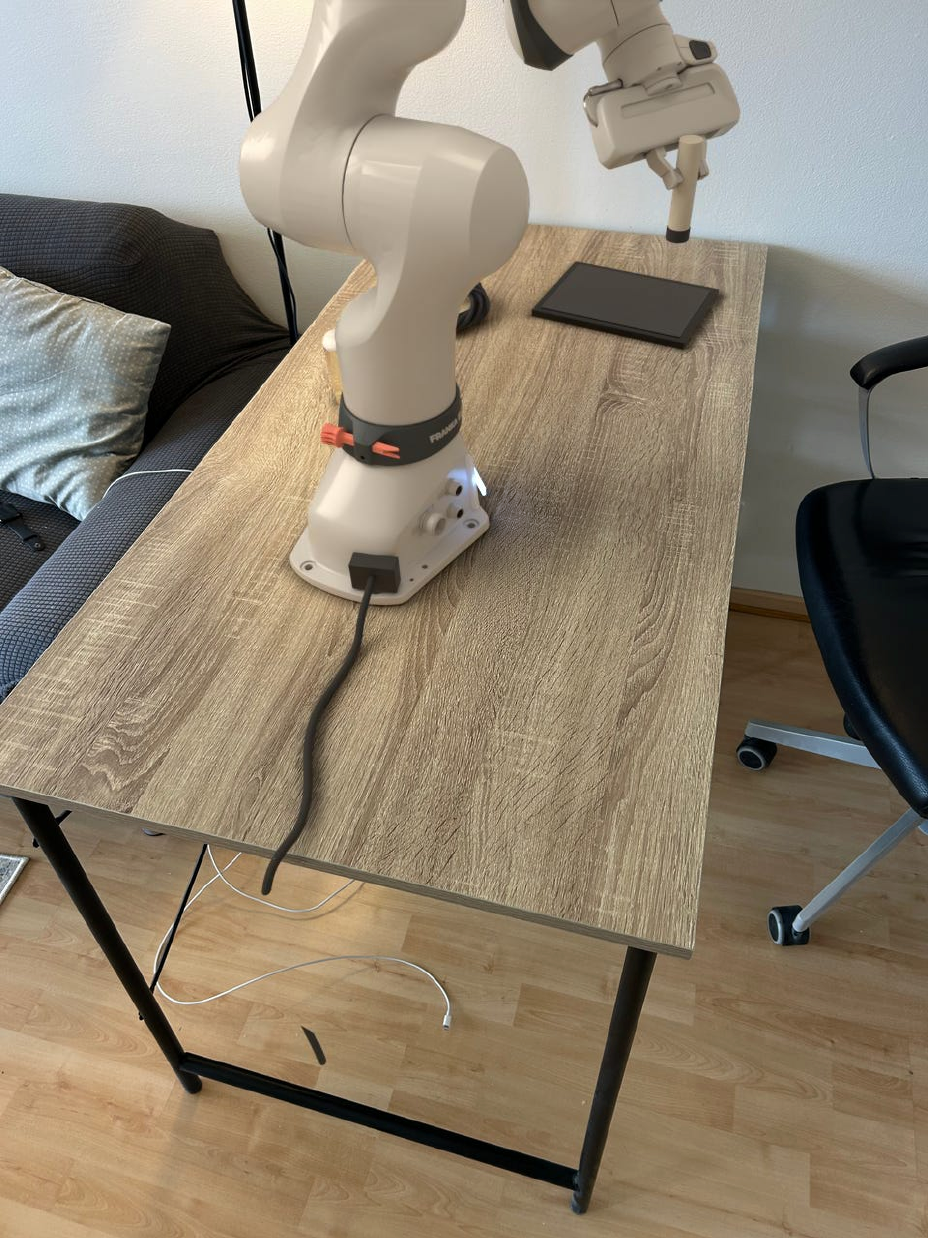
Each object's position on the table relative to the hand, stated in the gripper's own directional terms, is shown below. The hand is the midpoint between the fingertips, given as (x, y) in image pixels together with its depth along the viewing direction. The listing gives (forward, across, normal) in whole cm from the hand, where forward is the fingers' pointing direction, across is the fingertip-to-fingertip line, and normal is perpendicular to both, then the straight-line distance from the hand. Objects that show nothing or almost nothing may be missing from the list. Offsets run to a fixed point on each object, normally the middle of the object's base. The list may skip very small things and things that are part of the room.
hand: (689, 182), depth 110 cm
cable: (-1, -27, +27) cm, 38 cm away
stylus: (+5, 0, +6) cm, 7 cm away
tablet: (+8, -2, +18) cm, 20 cm away
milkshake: (+7, -45, +19) cm, 49 cm away
